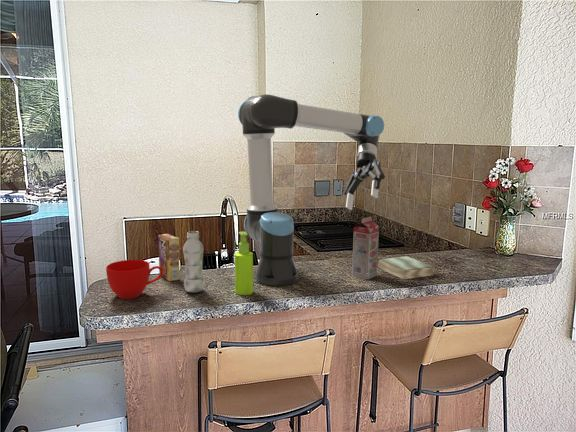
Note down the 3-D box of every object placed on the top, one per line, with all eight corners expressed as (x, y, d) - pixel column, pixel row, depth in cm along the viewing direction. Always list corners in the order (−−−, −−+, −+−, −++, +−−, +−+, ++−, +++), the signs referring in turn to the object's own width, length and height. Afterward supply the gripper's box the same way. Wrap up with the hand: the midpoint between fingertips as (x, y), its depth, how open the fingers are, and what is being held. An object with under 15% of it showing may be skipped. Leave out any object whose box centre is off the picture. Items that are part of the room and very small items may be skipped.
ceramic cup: (164, 298, 144) (163, 268, 143) (107, 304, 139) (105, 273, 137) (161, 285, 156) (160, 257, 155) (108, 290, 151) (106, 261, 149)
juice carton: (351, 275, 170) (354, 217, 166) (361, 271, 175) (363, 215, 171) (367, 279, 166) (370, 219, 162) (376, 275, 171) (379, 217, 167)
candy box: (181, 279, 163) (179, 237, 161) (169, 281, 161) (168, 239, 158) (170, 273, 170) (168, 233, 167) (158, 275, 167) (157, 234, 165)
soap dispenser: (249, 287, 156) (249, 229, 152) (254, 294, 149) (254, 234, 146) (232, 289, 154) (232, 230, 150) (237, 296, 148) (236, 235, 144)
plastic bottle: (206, 294, 149) (204, 233, 145) (184, 295, 147) (183, 234, 144) (203, 287, 155) (202, 229, 152) (183, 289, 153) (181, 230, 150)
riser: (403, 279, 167) (404, 270, 166) (378, 267, 181) (378, 259, 180) (434, 275, 172) (434, 266, 172) (407, 263, 187) (407, 255, 186)
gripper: (397, 148, 174) (393, 195, 163) (352, 173, 193) (346, 217, 182) (383, 139, 170) (378, 186, 160) (338, 165, 189) (332, 209, 179)
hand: (361, 202), depth 171 cm, fingers open, 13 cm apart
